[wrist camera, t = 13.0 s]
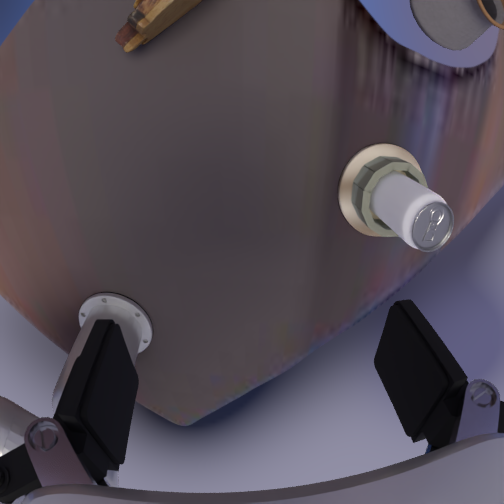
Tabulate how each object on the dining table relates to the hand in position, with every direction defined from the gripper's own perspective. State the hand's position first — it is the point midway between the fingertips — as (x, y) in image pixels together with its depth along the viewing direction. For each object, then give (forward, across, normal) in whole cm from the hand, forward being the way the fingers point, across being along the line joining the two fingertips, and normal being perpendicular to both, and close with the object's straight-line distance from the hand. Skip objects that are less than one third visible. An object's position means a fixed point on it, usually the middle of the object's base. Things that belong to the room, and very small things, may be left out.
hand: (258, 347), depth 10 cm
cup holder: (+30, -20, +4) cm, 36 cm away
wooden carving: (+30, +5, -20) cm, 37 cm away
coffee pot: (+30, -32, -26) cm, 51 cm away
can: (+29, -20, +4) cm, 36 cm away
